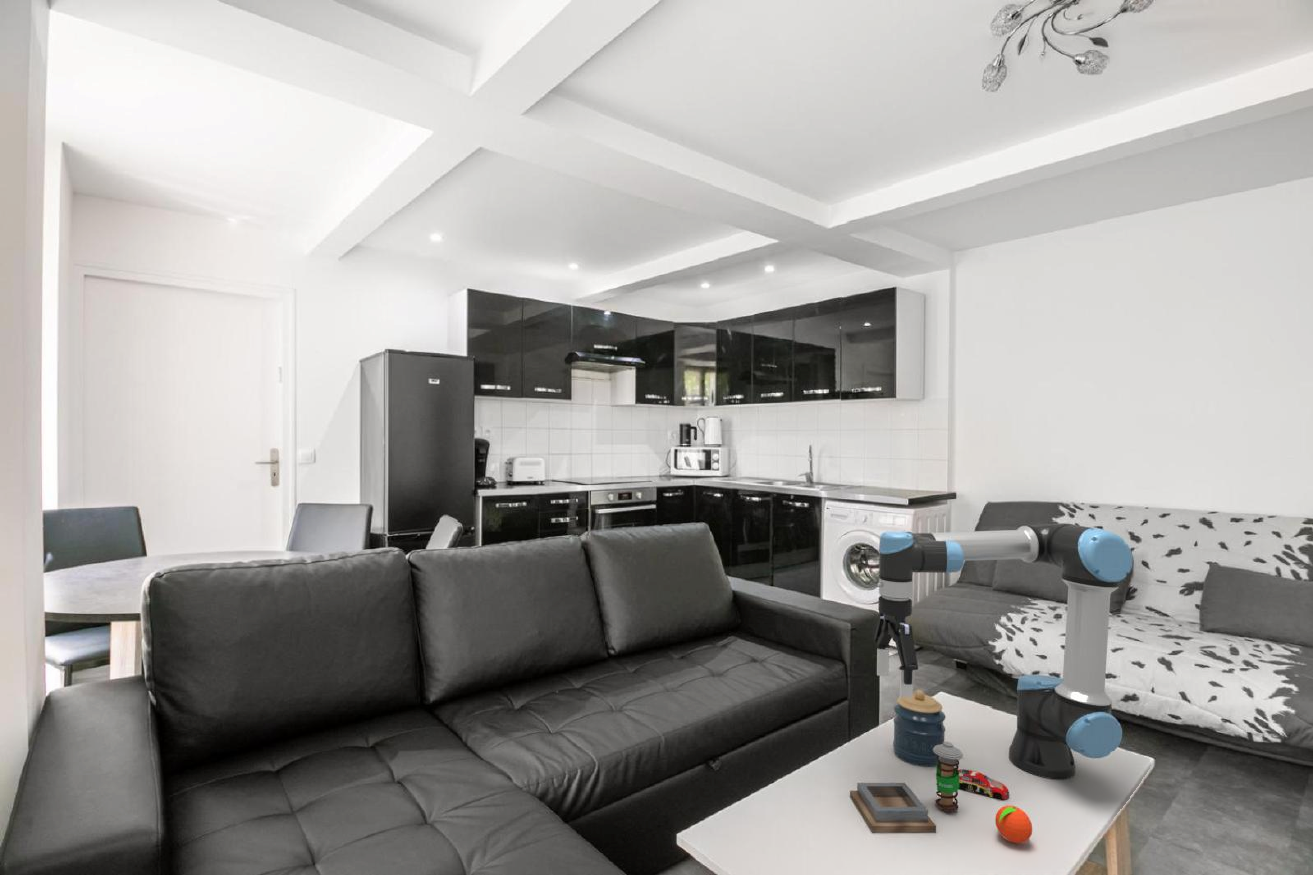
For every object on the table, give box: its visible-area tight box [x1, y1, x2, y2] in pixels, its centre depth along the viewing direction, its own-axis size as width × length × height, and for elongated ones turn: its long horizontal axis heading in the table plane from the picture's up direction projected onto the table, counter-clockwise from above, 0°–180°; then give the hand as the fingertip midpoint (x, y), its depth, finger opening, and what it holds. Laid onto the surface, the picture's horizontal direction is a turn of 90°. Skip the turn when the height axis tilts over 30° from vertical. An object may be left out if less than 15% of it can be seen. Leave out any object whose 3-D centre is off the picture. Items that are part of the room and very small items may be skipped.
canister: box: [892, 689, 946, 767], centre depth 173 cm, size 13×13×18 cm
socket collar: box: [856, 782, 929, 823], centre depth 145 cm, size 12×12×2 cm
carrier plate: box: [849, 790, 937, 834], centre depth 145 cm, size 14×14×2 cm
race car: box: [958, 768, 1010, 801], centre depth 156 cm, size 13×5×4 cm, turn 59°
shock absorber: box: [933, 741, 964, 812], centre depth 148 cm, size 6×6×15 cm
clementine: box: [995, 804, 1033, 844], centre depth 136 cm, size 8×7×7 cm
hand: (893, 685), depth 153 cm, fingers open, 13 cm apart
